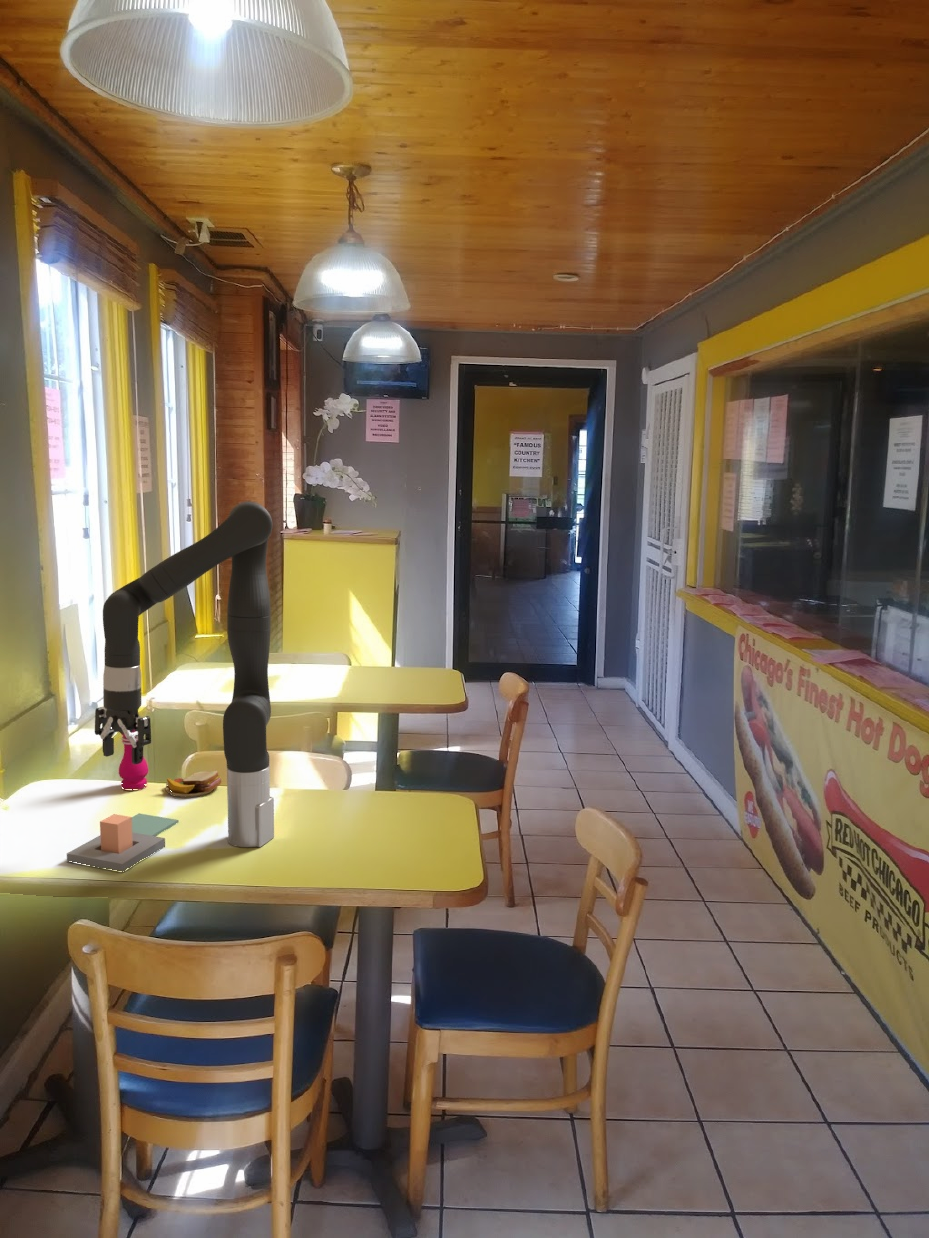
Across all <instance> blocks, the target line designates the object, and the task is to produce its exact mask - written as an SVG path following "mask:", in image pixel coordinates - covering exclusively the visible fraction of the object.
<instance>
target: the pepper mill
mask: <svg viewBox="0 0 929 1238" xmlns="http://www.w3.org/2000/svg"><path fill="white" fill-rule="evenodd" d="M133 732H135V729H134V730H133V731H132V732H131V733H133ZM121 736H122V737H121V743H122V744H123V756H122V759H121V761H120V763H119V767H118V775H119V777H120V778H121V779H122V780H121V781H120V785H121V786H122V787H123V788H124V789H132V790H133V789H141V790H143V789H142V788H143V787H145V788H147V786H145V785H144V784H147V785H148V780H147V778H146V776H147V775H148V774H149V766H148V763H147V760H146V758H145V757H144V755H143V761H142V762H141V763H139V764H132V747H133V746H132V744H131V742H130V740H129V739H127V738H126V736H125V734H121ZM135 739H136V741H138V739H137V738H136V737H135ZM121 783H123V784H121ZM121 786H120V787H121Z"/></svg>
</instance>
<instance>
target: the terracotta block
mask: <svg viewBox="0 0 929 1238" xmlns="http://www.w3.org/2000/svg"><path fill="white" fill-rule="evenodd" d="M132 817H133V816H128V815H121V814H116V813H113V814H112V815H109V816H108V817H106V818H105V819H102V820H100V821H99V832H100V835H101V851H106V852H112V853H117V854H120V853H122V852H124V851H125V850H127V849H129V848H130V847H132V846H133V839H132ZM100 835H99V836H100Z"/></svg>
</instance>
